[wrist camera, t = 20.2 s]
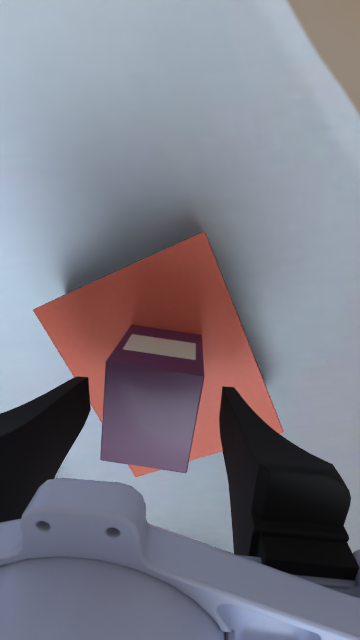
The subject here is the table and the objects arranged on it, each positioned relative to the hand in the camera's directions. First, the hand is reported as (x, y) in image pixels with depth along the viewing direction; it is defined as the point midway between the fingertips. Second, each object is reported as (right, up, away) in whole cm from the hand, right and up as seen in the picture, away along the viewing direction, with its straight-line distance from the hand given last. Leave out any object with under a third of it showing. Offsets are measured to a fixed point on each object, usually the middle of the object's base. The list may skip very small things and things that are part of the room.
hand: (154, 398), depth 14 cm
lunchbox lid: (0, +1, +4) cm, 4 cm away
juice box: (0, +1, +3) cm, 3 cm away
